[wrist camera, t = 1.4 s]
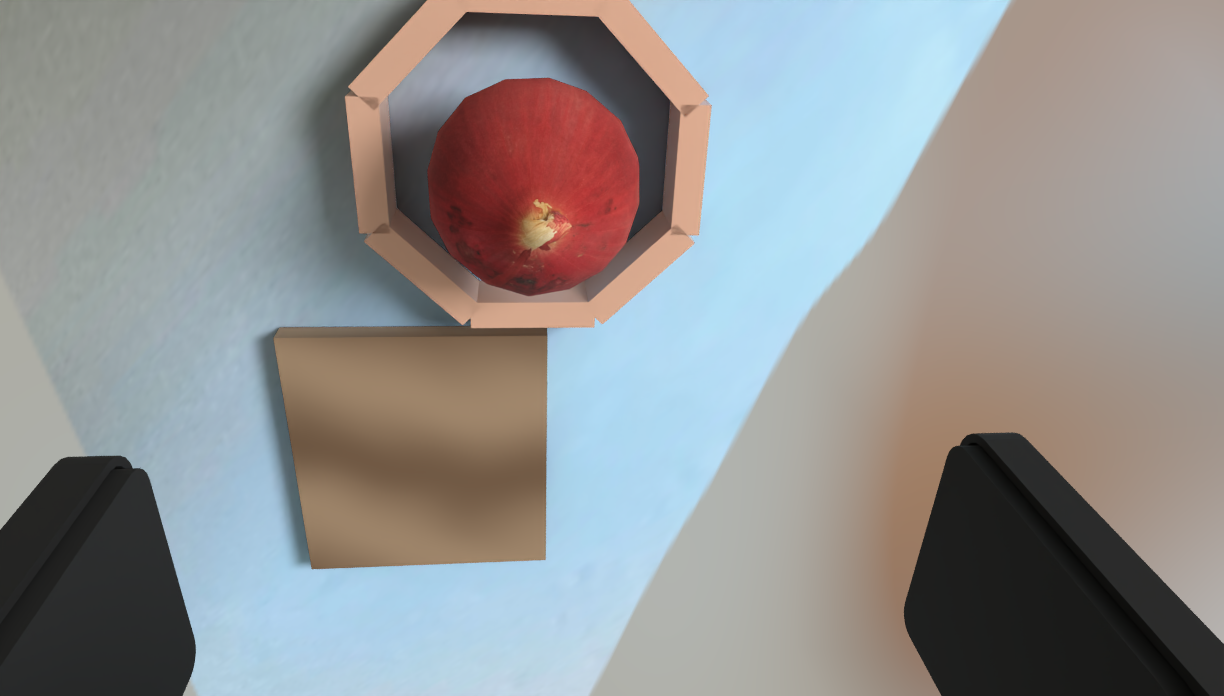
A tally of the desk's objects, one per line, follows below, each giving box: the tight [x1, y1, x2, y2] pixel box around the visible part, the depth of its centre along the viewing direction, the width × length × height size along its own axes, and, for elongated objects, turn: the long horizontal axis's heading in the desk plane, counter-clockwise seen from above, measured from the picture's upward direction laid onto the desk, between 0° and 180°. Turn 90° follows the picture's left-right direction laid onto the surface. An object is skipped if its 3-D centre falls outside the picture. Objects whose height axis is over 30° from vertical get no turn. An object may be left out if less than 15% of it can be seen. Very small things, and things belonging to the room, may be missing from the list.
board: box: [273, 326, 547, 569], centre depth 30 cm, size 10×9×1 cm
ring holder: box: [345, 0, 712, 328], centre depth 25 cm, size 10×10×2 cm
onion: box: [427, 78, 639, 297], centre depth 22 cm, size 6×6×8 cm
